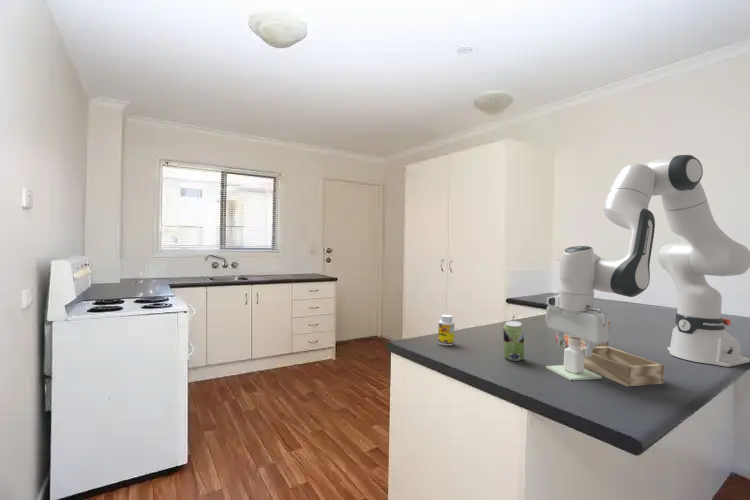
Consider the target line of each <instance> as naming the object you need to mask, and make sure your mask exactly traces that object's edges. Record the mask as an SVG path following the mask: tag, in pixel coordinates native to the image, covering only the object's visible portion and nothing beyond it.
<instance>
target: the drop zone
mask: <svg viewBox="0 0 750 500" xmlns="http://www.w3.org/2000/svg"><path fill="white" fill-rule="evenodd" d="M545 369H547V370H549V371H551V372H553V373H555V374H557V375H559V376H561V377H563V378H565V379H567V380H569V381H571V380H573V381H585V380H587V381H588V380H597V379H600V380H601V379H603V376H602V375H600V374H597V373H595V372H593V371H590V370H588V369H586V368H584V371H583V372H581V373H576V374H575V373H572V372H569V371H566V370H564V364H561V365H560V364H558V365H545Z"/></svg>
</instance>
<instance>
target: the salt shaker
mask: <svg viewBox="0 0 750 500" xmlns="http://www.w3.org/2000/svg"><path fill="white" fill-rule="evenodd" d="M568 344H569V345H568V347H565V348H564V350H563V365H564V370H566V371H569V372H572V373H575V374H576V373H581V372H583V371H584V369H585V368H584V355H583V350H581V339H580V338H577V337H569V338H568Z"/></svg>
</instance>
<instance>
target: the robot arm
mask: <svg viewBox="0 0 750 500" xmlns="http://www.w3.org/2000/svg"><path fill="white" fill-rule="evenodd" d="M702 165H703V164H702V163H701V161H700V160H699V159H698V158H697V157H695V156H694V155H692V154H678V155H675V156H669V157H663V158H657V159H654V160H651V161H649V162H644V163H631V164H628V165H626V166H624V167H623V168H622V169H621V170H620V172H619V173H618V174H617V176H616V177H615V179H614V180H613V182H612V184H611V186H610V188H609V191H608V193H607V195H606V198H605V200H604V203H603V212H604V215H605V217H606V218H607V220H609V221H610V222H612V223H613V224H615V225H616V226H619V227H621V228H623V229H627V230H630V237H629V244H628V248H627V254H626V256H625V257H623V258H622V257H621V258H619V259H618V258H605V257H601V256H600V255H598V254H596V253H595V252H594V249H593V247H592V246H587V245H578V246H570V247H567V248H565V249H564V250H563V251H562V254H561V257H560V263H559V264H560V265H559V279H560V287H559V290H558V294H557V295H554V296H553V295H552V296H549V297H546V305H547V306H546V312H545V313H546V314H545V322H546V326H547V327H548V329H552V330H555V337H556V336H557V338H558V340H557V341H558V342H557V345H558V346H559V347H561V348H567V346H568V345H567V341H565V338H564V335H563V334H565V333H566V334H569V335H572V336H575V337H578V338H581V339H584V340H586V344H588V345H587V347H586V349H583V355H584V356H586V357H591V356H592V350H593V349H594V348H595V346H596V344H606V343H607V342H608V343H609V341H610V327H609V328H608V321H607V320H608V316H607V314H606V312H605V311H604V310H603V309H602V308H600V307H595V306H594V305H595V291H597V292H604V293H608V294H609V293H611V294H616V295H620V296H624V297H629V298H633V297H636V296H638V295H640V294H642V293H643V292H644V291H646V290H647V288H648V287H649V285H650V281H651V280H650V279H651V273H650V272H651V271H650V264H651V263H650V262H651V257H652V251H653V250H652V249H653V244H654V239H655V237H654V236H655V228H656V219H655V215H654V213H653V212H652V211H651V210H649V204H650V203H651V202H650V201H651V200H652V197H655V196H661V201H662V206H663V209H664V213H665V216H666V219H667V223H668V226H669V229H670V231H672V233H674V234H675V235H677V236H679V237H682V238H684V240H685V241H675V242H670V243H667V244H664V245H663V246H662V247H661V248H660V249H659V251H658V254H657V261H658V263H659V264H660V266H661V268H663V269H664V270H665V271H666V272H667V273H668V274H669V275H670V276H671V278H672V280H673V282H674V285H675V288H676V292H677V293H676V294H677V296H676V297H677V311H676V313H675V317H674V323H675V326H674V327H673V329H672V333H671V341H670V346H667V351H669V354H670V355H671V356H673V357H676V358H679V359H683V360H686V361H690V362H694V363H695V362H696V363H701V364H707V365H716V366H721V367H727V368H730V367H734V366H739V365H743V364H747V363H750V357H746V356H743V355H741V344H740V342H739V341H738V340H737V339H736V338H734V337H733V336H732V335H731V334H730V333H729V332H727V331H726V327H725V326H731V324H732V321H731V319H729V318H722V303H723V298H722V294H721V292H720V291H718V289H716V288H714V287H712V286H711V285H710V284H709V283H708V282H707V279H706V276H716V277H731V276H733V277H734V276H741V275H744V274H745V273H746V272H747V271H748V270H750V250H749V249H748V247H747V246H745V245H744V244H741V243H739V242H737V241H736V240H734V239H732V238H731V237H729V236H728V235H727V234H726V233H725V232H724V231H723V230H722V229H721V228H720V226H719V225H718V224H717V222H716V221H715V219H714V216H713V214H712V211H711V208H710V205H709V201H708V198H707V195H706V192H705V190H704V188H703V185H702V183H701V180H702V178H703V175H704V171H703V166H702Z"/></svg>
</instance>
